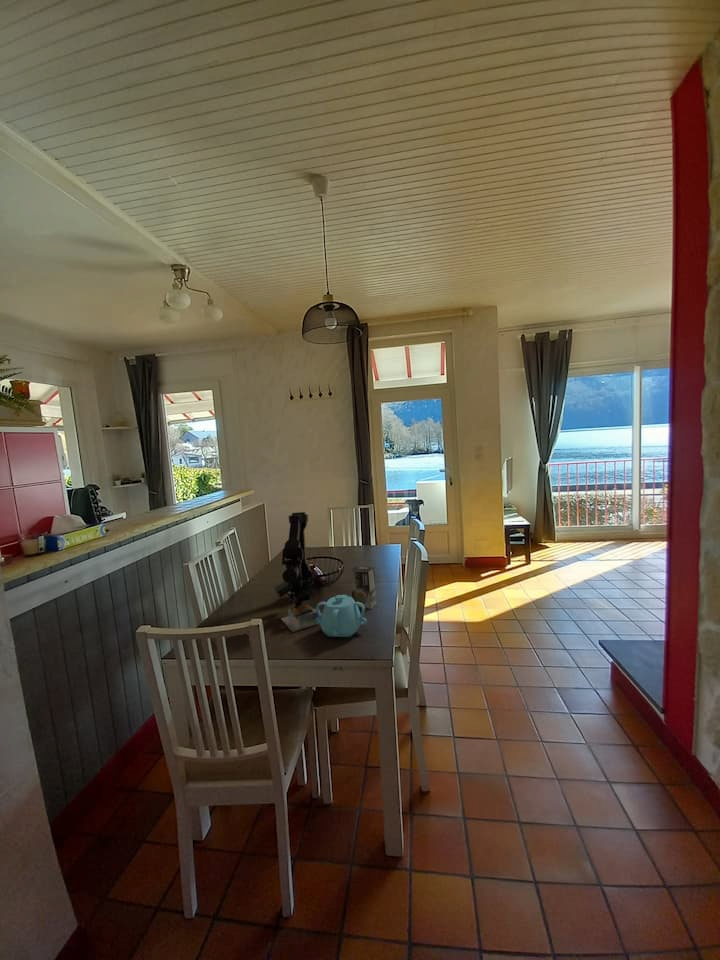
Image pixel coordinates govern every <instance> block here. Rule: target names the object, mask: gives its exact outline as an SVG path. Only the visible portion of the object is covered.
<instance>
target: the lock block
mask: <svg viewBox="0 0 720 960" xmlns="http://www.w3.org/2000/svg"><path fill="white" fill-rule="evenodd" d="M311 612H312V609H311V608H310V607H308V606H307V604H305V603H302V604H301V605H299V606H295V607H294V606H293V613H294V614H295V615H297V616H301V615H304V614H308V613H311Z"/></svg>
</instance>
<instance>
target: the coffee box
mask: <svg viewBox="0 0 720 960" xmlns="http://www.w3.org/2000/svg"><path fill="white" fill-rule="evenodd" d="M349 575H350V576H349V577H350V588H351V589H350V591H351V597H352V598H353V599H354V601H355V602H360V603H362V604H363V605H364V607H365V609H371V610H372V609H373V608H375V606H376V605H377V591H376V577H375V567H368V566H354V567H353V568H352V569H351V570H350V571H349ZM357 606H358V608H361V606H359V605H357ZM361 609H362V608H361Z"/></svg>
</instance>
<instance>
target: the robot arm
mask: <svg viewBox="0 0 720 960" xmlns="http://www.w3.org/2000/svg"><path fill="white" fill-rule="evenodd" d="M308 522H309V514H307V513H306V511H300V512H299V511H298V512H292V513H291V515H288V524H289V534H288V540H286V542H285V543H284V547H283V549H282V556H281V557H282V560H281V564H282V566H283V565H284V566H285V569H284V571H283V573H282V580H283V582H281V583H280V584H278V585H277V586H275V587H274V591H275V593H276V595H277V596H278V597H279V598H283V597H284V596H286V595H287V597H289V599H291V600H292V601H291V602H292V603H293V607H295V606H299V605H302V604H303V602H305V601H309V600H312V596H313V595H314V592H313V588H312V587H313V586H312V583H313V582H315V578H314V573H313V571H312V570H311V565H310V564H309V563H308V561H307V552H306V550H307V549H306V536H305V530H306V528H307V527H308Z"/></svg>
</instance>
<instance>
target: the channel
mask: <svg viewBox="0 0 720 960" xmlns="http://www.w3.org/2000/svg"><path fill="white" fill-rule="evenodd" d="M306 605H307V606H308V607H310V608H311V609H312V612H311V613H308V614H304V615H301V616H297V615H295V614H294V611H293V610H292V609H290V608H289V609H287V616H284V617H281V618H280V619H281V622H283V624H284V625H285V626H286V627H287V628H288V629H289V630H290V631H291V632H292V633H295V632H297V631H300V630H304V629H307V628H310V627H314V626H317V625H318V624H317V623H316V619H317V618H318V617H319V616H318V614H317V611H316V608H313V607H312V606H311V605H310V604H306ZM321 615H322V613H321ZM318 620H319V621H320V619H318Z"/></svg>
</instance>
